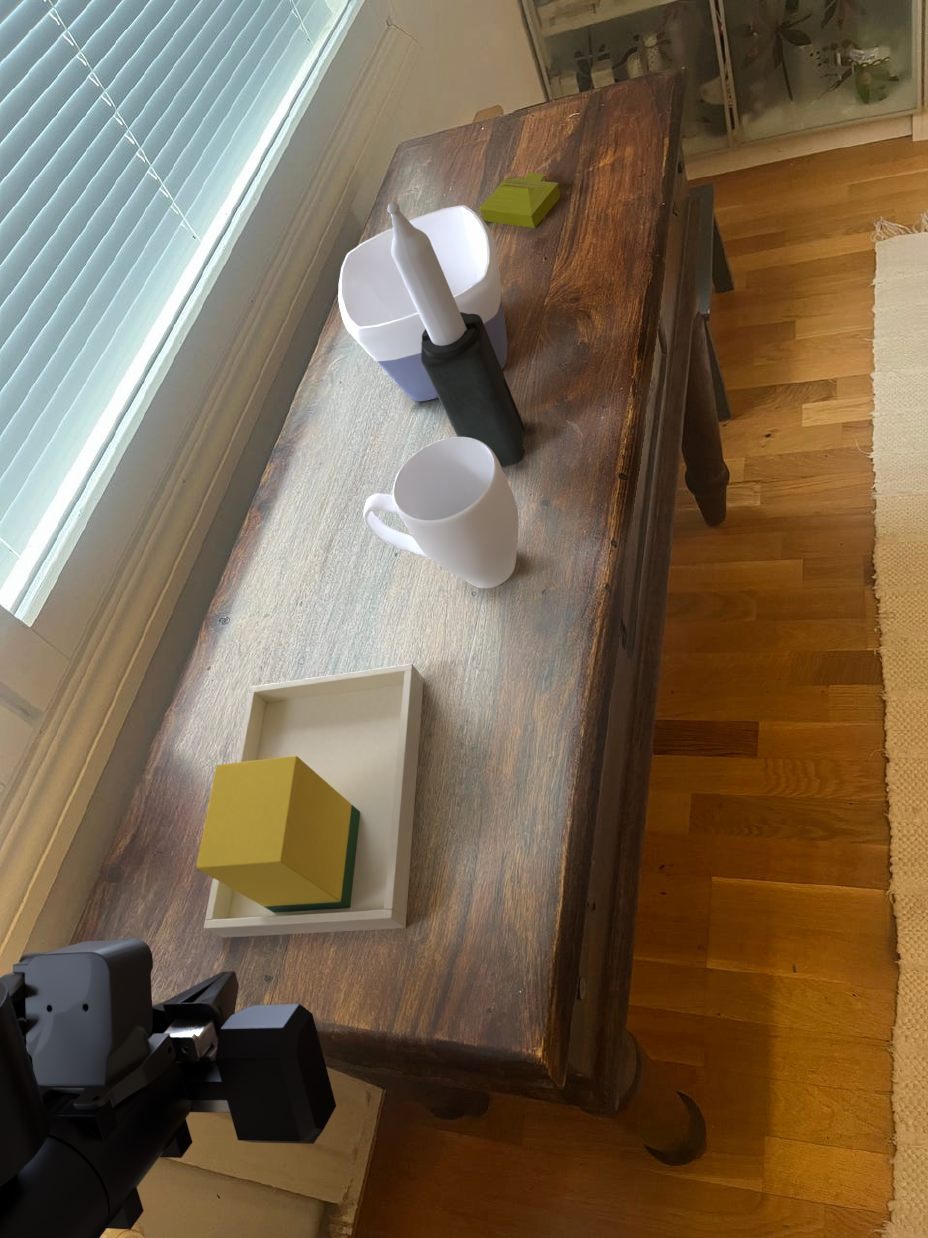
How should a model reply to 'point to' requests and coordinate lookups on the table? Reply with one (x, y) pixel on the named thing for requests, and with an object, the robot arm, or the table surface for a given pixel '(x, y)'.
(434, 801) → the table surface
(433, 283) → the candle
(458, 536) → the mug
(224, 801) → the block
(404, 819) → the tray
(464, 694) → the table surface
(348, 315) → the bowl
